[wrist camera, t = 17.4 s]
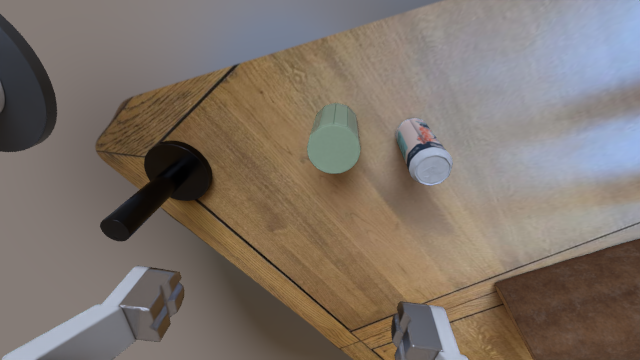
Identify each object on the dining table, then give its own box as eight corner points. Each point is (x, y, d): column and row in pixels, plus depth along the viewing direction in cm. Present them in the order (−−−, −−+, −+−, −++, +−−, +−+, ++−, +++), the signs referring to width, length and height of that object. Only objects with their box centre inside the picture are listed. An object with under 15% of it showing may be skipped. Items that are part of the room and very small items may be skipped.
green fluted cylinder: (306, 124, 42) (296, 150, 34) (336, 94, 39) (333, 113, 31) (335, 152, 44) (333, 183, 36) (366, 124, 41) (371, 151, 33)
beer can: (434, 135, 41) (462, 174, 31) (405, 153, 43) (423, 195, 33) (418, 110, 40) (443, 142, 29) (388, 129, 41) (402, 166, 31)
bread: (490, 280, 55) (531, 354, 43) (714, 211, 44) (858, 287, 31) (510, 318, 60) (552, 395, 48) (715, 267, 49) (838, 350, 37)
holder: (139, 169, 49) (57, 228, 35) (167, 127, 44) (86, 176, 30) (192, 206, 52) (137, 274, 38) (224, 170, 47) (174, 232, 34)
